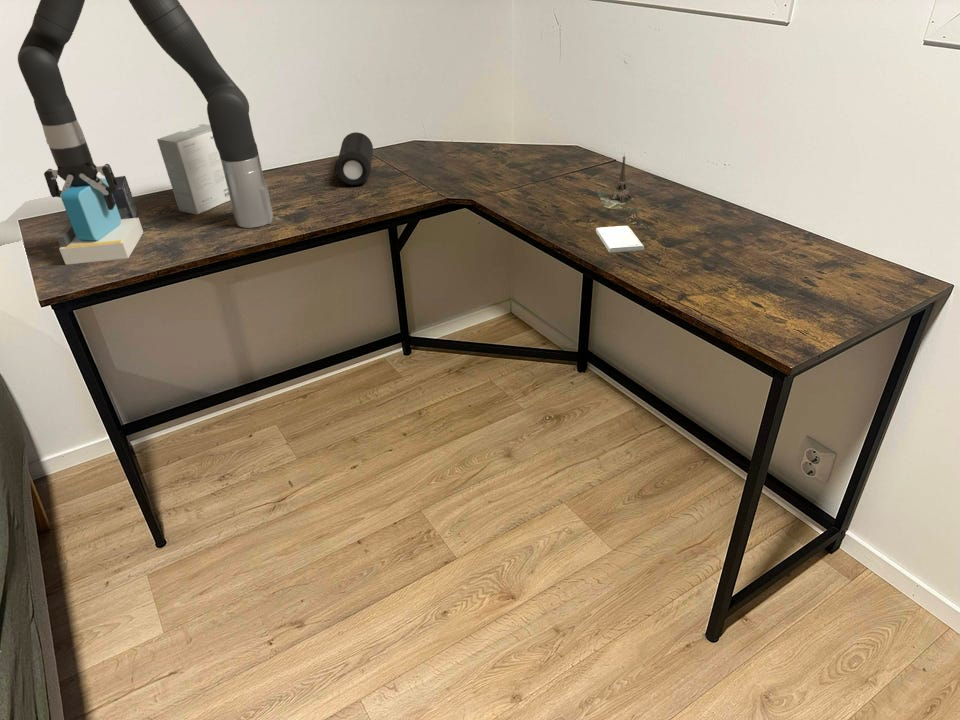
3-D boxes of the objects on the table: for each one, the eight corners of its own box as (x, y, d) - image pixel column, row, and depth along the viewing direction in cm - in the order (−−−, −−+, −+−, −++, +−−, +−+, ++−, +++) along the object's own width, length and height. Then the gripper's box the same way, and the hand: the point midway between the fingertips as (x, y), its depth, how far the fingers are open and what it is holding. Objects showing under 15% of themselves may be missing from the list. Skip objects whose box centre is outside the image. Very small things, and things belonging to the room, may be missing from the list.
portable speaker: (344, 162, 217) (340, 131, 212) (375, 160, 218) (371, 129, 212) (338, 189, 196) (332, 155, 190) (372, 187, 197) (367, 153, 191)
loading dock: (143, 232, 173) (135, 208, 169) (128, 258, 160) (119, 232, 156) (85, 237, 171) (76, 213, 167) (65, 264, 158) (55, 239, 154)
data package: (106, 222, 168) (89, 176, 162) (123, 223, 168) (106, 176, 161) (78, 242, 158) (58, 193, 152) (96, 242, 158) (77, 193, 151)
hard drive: (644, 245, 154) (628, 224, 165) (609, 248, 154) (595, 227, 164) (643, 252, 155) (627, 231, 166) (609, 254, 155) (595, 233, 165)
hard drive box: (221, 193, 196) (203, 123, 185) (239, 197, 193) (222, 126, 182) (177, 211, 185) (155, 138, 174) (196, 215, 182) (175, 141, 170)
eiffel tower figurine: (595, 192, 188) (598, 144, 181) (631, 191, 188) (635, 143, 181) (604, 212, 176) (608, 162, 168) (642, 211, 176) (648, 160, 168)
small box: (113, 216, 183) (99, 178, 178) (138, 212, 185) (126, 174, 179) (110, 230, 175) (95, 191, 169) (136, 225, 177) (123, 187, 171)
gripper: (105, 135, 155) (127, 202, 164) (39, 140, 153) (65, 208, 162) (95, 144, 149) (120, 213, 158) (27, 149, 147) (55, 219, 156)
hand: (92, 210), depth 160 cm, fingers open, 8 cm apart
